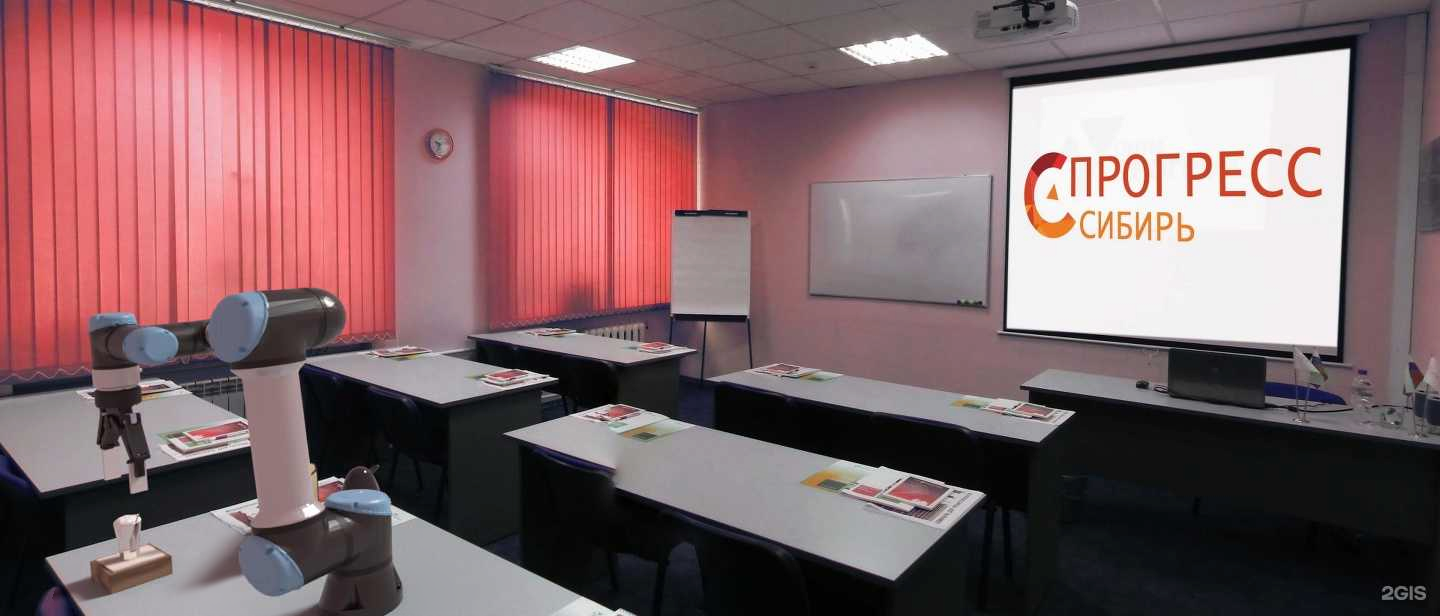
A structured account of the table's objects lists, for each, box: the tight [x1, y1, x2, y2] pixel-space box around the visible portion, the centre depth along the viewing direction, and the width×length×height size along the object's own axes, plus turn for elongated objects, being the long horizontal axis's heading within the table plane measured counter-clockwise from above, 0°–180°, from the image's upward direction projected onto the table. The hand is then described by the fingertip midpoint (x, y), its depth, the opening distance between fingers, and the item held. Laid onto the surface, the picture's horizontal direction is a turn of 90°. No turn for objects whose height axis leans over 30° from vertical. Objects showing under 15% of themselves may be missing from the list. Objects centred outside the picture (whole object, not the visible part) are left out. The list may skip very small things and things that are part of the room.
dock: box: [89, 542, 174, 595], centre depth 152 cm, size 11×10×4 cm
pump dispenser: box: [340, 464, 381, 492], centre depth 179 cm, size 10×10×15 cm
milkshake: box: [113, 513, 142, 561], centre depth 151 cm, size 5×5×10 cm
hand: (125, 485), depth 150 cm, fingers open, 13 cm apart
